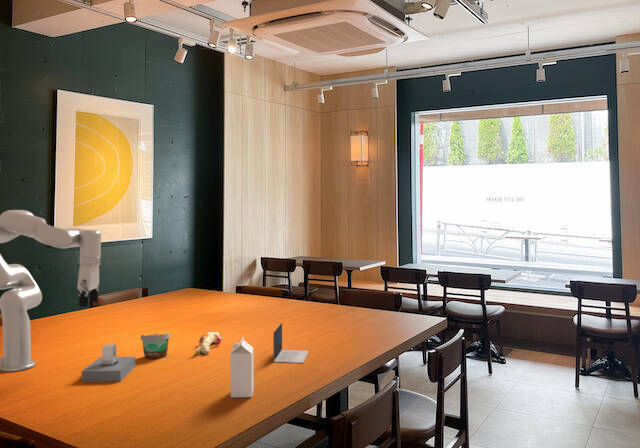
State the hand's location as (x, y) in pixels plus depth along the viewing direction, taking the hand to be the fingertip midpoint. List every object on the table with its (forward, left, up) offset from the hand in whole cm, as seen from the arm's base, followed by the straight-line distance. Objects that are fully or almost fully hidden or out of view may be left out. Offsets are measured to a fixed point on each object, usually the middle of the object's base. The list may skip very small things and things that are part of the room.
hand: (88, 304), depth 207 cm
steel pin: (+10, -7, -26) cm, 29 cm away
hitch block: (+10, -7, -26) cm, 29 cm away
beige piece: (+42, +29, -26) cm, 58 cm away
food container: (+22, +14, -26) cm, 37 cm away
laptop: (+80, +12, -27) cm, 85 cm away
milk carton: (+63, -32, -26) cm, 75 cm away
